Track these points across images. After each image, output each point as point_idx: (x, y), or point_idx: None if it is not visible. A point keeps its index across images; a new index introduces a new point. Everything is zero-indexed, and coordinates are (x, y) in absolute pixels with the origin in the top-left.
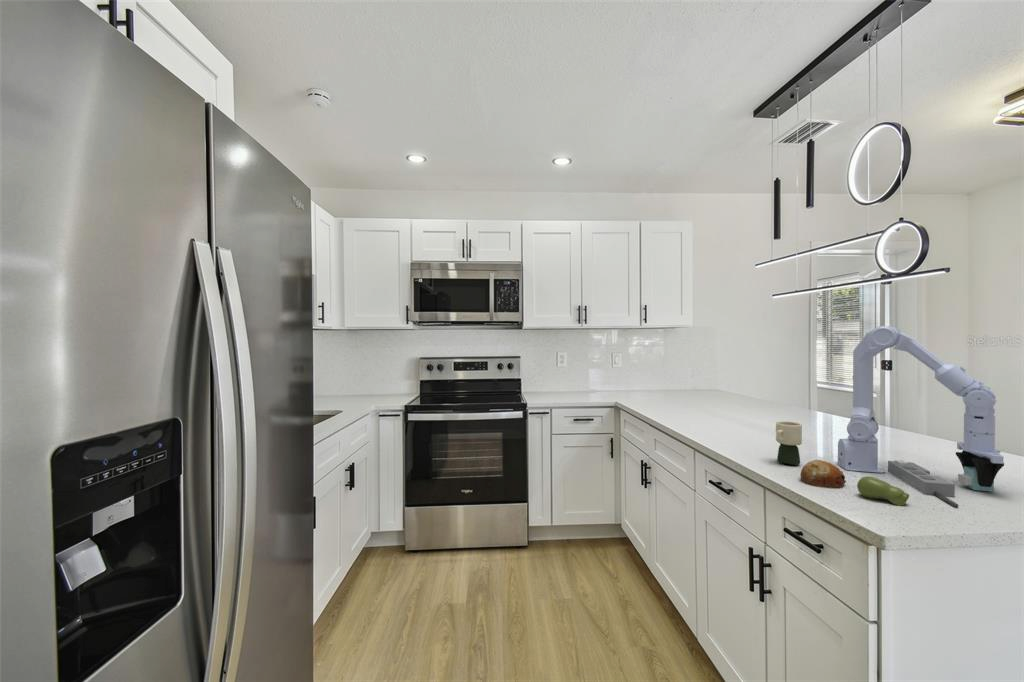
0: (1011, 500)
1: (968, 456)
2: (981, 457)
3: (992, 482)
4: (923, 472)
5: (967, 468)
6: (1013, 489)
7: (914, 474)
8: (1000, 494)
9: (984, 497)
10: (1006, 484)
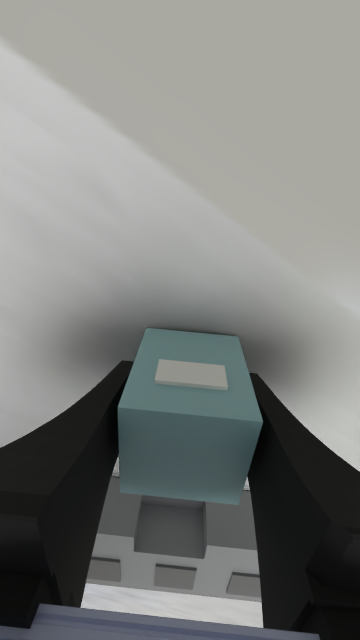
0: (356, 334)
1: (74, 571)
2: (63, 503)
3: (271, 391)
4: (160, 560)
5: (162, 493)
6: (139, 161)
7: (201, 590)
8: (261, 319)
9: (312, 413)
10: (14, 115)
